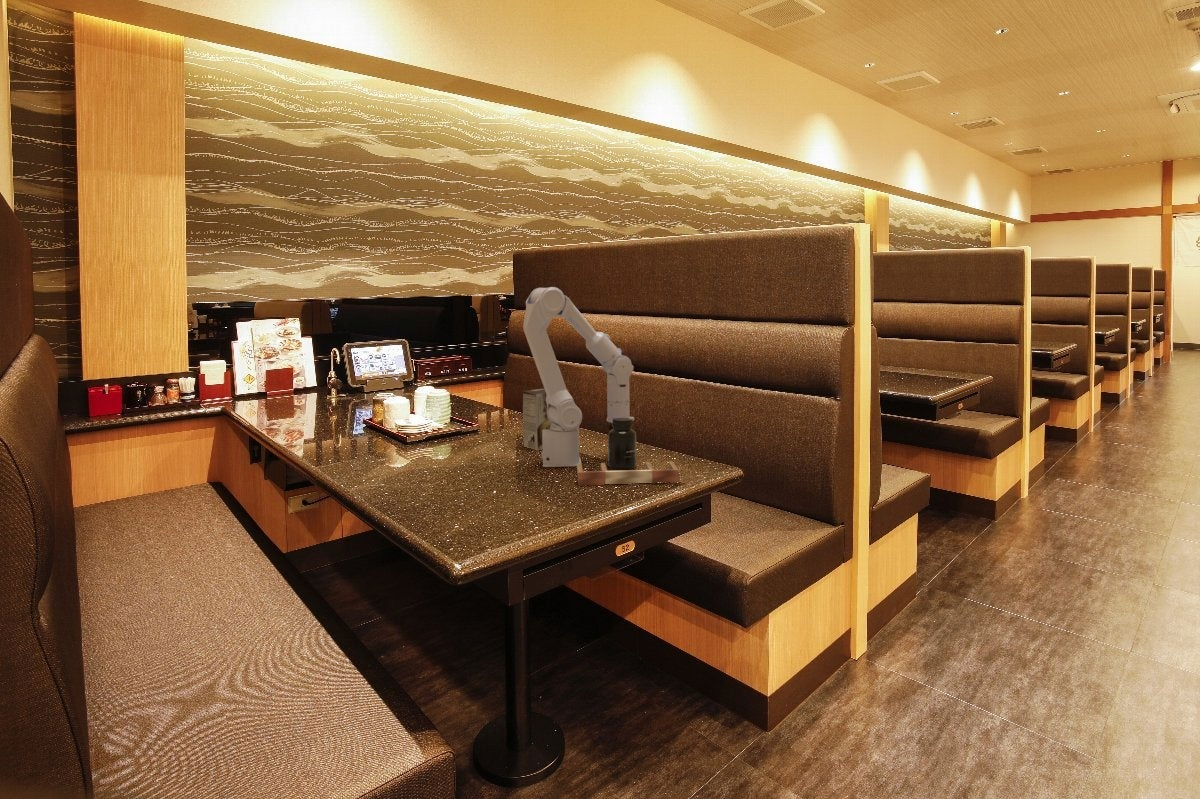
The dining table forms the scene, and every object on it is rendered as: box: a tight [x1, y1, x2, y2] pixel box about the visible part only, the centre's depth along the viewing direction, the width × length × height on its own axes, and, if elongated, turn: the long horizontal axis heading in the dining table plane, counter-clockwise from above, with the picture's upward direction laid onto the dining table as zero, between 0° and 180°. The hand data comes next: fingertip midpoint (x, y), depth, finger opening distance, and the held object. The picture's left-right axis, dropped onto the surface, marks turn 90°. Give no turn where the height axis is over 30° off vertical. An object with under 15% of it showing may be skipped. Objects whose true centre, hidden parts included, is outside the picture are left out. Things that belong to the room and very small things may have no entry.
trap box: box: [576, 460, 680, 487], centre depth 158 cm, size 22×8×3 cm, turn 93°
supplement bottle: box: [607, 418, 637, 470], centre depth 169 cm, size 7×7×12 cm
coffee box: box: [521, 387, 551, 451], centre depth 192 cm, size 9×6×16 cm
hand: (618, 452), depth 180 cm, fingers closed
